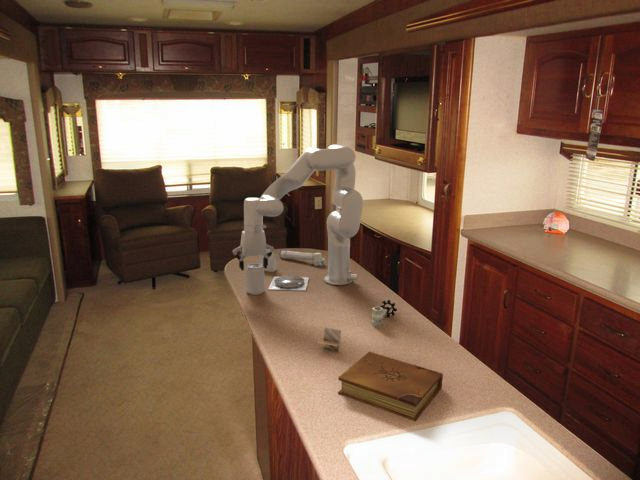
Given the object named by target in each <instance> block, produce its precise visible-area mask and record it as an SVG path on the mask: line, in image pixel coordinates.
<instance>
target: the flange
mask: <svg viewBox="0 0 640 480" xmlns="http://www.w3.org/2000/svg"><path fill="white" fill-rule="evenodd" d="M309 280H310V277H306V276H299V275H282V276H281V275H280V276H276V275H275V276H273V278H272V281H271V282H270V284H269V287H267V288H268V289H267V290H268V291H291V292H292V291H293V292H296V291H297V292H305V291H307V287H308V284H309Z"/></svg>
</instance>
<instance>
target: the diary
mask: <svg viewBox="0 0 640 480" xmlns="http://www.w3.org/2000/svg"><path fill="white" fill-rule="evenodd" d="M443 376H444V375H443V373H442V372H440V371H436V370H433V369H429V368H426V367H422V366H419V365H416V364H413V363H409V362H406V361H402V360H399V359H395V358H392V357H389V356H385V355H382V354H379V353H375V352H372V351H368V352H366V353H365V355H363V356H362V357H361V358H360V359H358V360H357V361H356V362H355V363H353V364H352V365H351V366H350V367H349V368H347V370H345V371H344V372H342V373H341V374H340V375H339V376H338V381H340V382H341V388H340V389H339V391H337V394H338V395H341V396H344V397H346V398H349V399H353V400H355V401H357V402H361V403H363V404H366V405H369V406H372V407H374V408H377V409H380V410H381V411H385V412H388V413H391V414H394V415H396V416H398V417H403V418H404V419H408V420H411V421H414V422H416V421H417V420H418V419H419V417H420V416H421V415H422V414H423V413H424V411H425V410H426V409H427V407H428V406H429V405H430V403H432V401H433V400H434V399H435V397H437V395H438V394H439V392H440V391H441V390H442V388H443V380H444V379H443V378H444V377H443Z"/></svg>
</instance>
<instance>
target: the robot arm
mask: <svg viewBox="0 0 640 480" xmlns="http://www.w3.org/2000/svg"><path fill="white" fill-rule="evenodd" d="M355 161H356V153H355V151H354V150H353V148H352V147H349V146H346V145H341V144H337V143H335V144H331V145H329V146H328V147H327V148H318V147H313V146H312V147H307V148H306V149H305V150H304V151H303V152H302V153H301V154H300V156H298V158H297V159H296V160H295V162H293V164H292V165H291V166H290V167H289V169H288V170H286V172H284V174H282V175H280V177H278V178H277V179H276V180H275V181H273V182H272V183H271V184H270V185H269V186H268V187H267V189H265V191H264V192H263V193H262V194H261V196H260V197H246V198H245V199H244V201H243V230H242V231H241V236H240V237H241V238H240V245H239V246H238V247H236V248H234V249H232V253H233V255H234V257H235V258H236V259H237V260H238V265H239V266H238V267H239V269H240V270H241V271H244V270H245V264H244V263H245V262H244V259H245V258H246V257H256V256H259V257H260V255H263V256H264V258H263V267H264V268H265V269H266V268H267V266H268V259H269V257H270V256H271V255H272V253H273V251H275V248H274V247H273V246H271V245H269V244H267V240H266V238H267V237H266V233H265V230H264V229H267V224H264V221H263V220H264V217H271V218H273V217H278V216H280V215H281V214H282V213H283V212H284V205H283V202H282V201H281V199H282V198H283V197H284V196H285V195H286V194H288V193H289V192H291V191H294V190H297V189H299V188H301V187H302V186H303V185H304V184H305V183H306V182H307V181H308V179H310V177H311V176H312V175H313V174H314V172H315V171H331V170H334V171H335V180H334V181H335V182H334V187H333V188H334V189H333V195H332V203H333V204H334V206H335V207H337V208H339V209H340V210H333V211H331V212H330V213H329V214H328V216H327V218H326V228H327V229H326V230H327V239H328V240H327V241H328V242H327V245H328V246H327V249H328V250H327V257H328V258H327V275H325V276H324V282H325V283H327V284H329V285H335V286H344V285H349V284H351V283H353V281H358V278H359V277H358V274H355V273H354V274H353V273H352V270H351V269H350V261H351V259H350V256H351V255H350V254H351V253H350V252H351V251H350V247H351V238H353V237H355V236H356V235H357V233H358V232H359V229H360V225H361V221H362V220H361V219H362V213H363V207H364V201H363V196H362V194H361V193H360V192H359V191H358V190H356V189H355V186H356V175H357V173H356V172H357V171H356V167H355V164H354V163H355ZM266 249H268V250H269V252H268V253H267V254H266ZM238 252H239V253H240V254H238Z"/></svg>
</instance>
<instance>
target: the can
mask: <svg viewBox="0 0 640 480" xmlns="http://www.w3.org/2000/svg"><path fill="white" fill-rule="evenodd" d="M262 266H263V265H262V264H260V263H250V264H247V268H246V269H245V273H246V274H245V275H246V276H245V277H246V292H247V293H248V294H250V295H253V296H257V295H259V296H260V295H262V294H263V293H264V292H265V291H266V289H265V287H266V286H265V283H266V282H265V278H266V277H265V271H264V268H263V267H262Z"/></svg>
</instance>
